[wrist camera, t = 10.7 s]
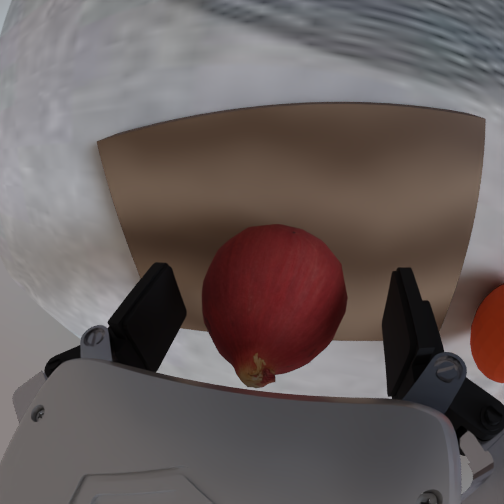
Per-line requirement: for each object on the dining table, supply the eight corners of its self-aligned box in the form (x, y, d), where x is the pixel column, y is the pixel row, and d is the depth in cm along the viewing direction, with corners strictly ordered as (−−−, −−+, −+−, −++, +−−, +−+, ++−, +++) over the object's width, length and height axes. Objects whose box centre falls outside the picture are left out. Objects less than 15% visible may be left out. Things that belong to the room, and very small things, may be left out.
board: (117, 133, 15) (96, 141, 14) (467, 113, 10) (485, 118, 8) (171, 308, 23) (161, 325, 21) (430, 317, 17) (436, 338, 16)
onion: (304, 304, 17) (280, 433, 10) (217, 257, 16) (150, 377, 10) (367, 233, 13) (382, 384, 7) (262, 170, 13) (186, 292, 6)
